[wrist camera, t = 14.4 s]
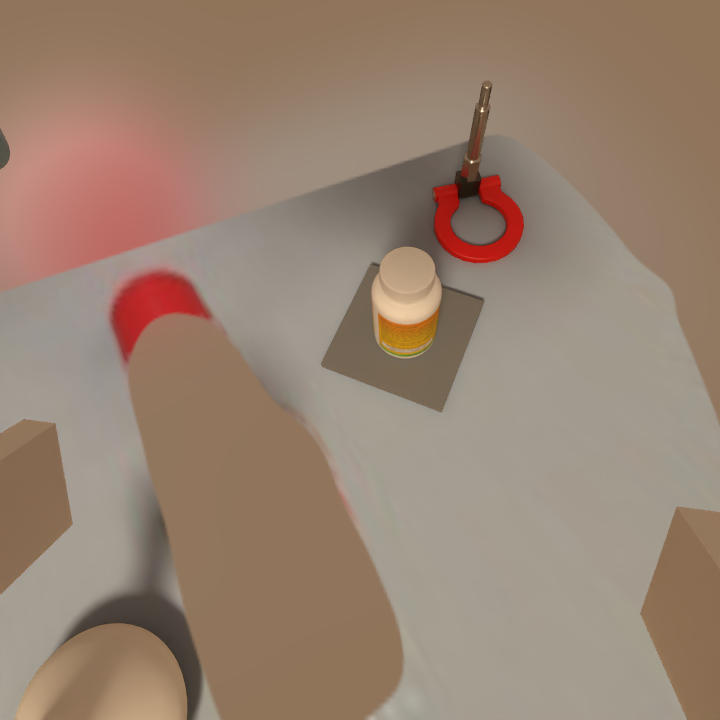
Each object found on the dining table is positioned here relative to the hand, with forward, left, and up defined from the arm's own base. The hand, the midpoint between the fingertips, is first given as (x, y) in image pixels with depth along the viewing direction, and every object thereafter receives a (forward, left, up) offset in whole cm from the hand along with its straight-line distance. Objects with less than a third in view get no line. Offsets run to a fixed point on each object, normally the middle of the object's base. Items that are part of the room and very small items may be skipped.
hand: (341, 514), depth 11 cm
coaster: (-5, +19, -30) cm, 35 cm away
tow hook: (-3, +33, -30) cm, 45 cm away
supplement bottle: (-5, +19, -29) cm, 35 cm away
